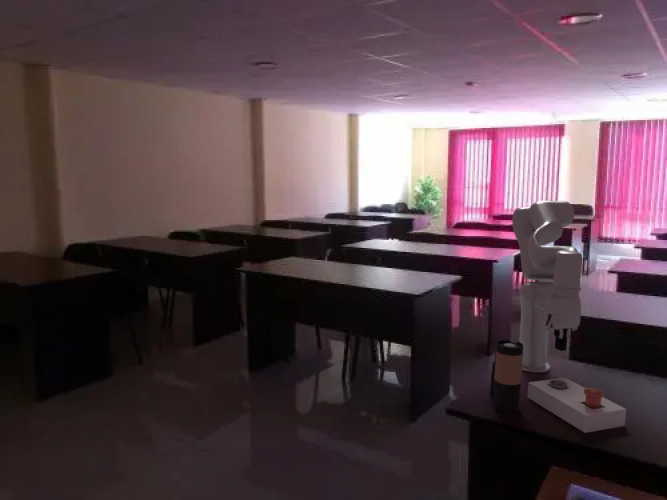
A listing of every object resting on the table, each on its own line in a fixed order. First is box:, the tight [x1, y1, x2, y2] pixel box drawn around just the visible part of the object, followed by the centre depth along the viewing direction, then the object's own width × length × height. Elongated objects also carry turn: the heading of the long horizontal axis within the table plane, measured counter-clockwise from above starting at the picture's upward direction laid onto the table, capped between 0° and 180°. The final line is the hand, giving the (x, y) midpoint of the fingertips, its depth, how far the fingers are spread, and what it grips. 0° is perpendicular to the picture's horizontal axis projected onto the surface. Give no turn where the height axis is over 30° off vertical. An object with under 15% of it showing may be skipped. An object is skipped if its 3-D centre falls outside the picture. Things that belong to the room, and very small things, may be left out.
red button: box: [584, 387, 605, 409], centre depth 154 cm, size 5×5×4 cm
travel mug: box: [493, 339, 523, 413], centre depth 162 cm, size 8×8×20 cm
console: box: [527, 377, 627, 434], centre depth 161 cm, size 24×14×5 cm, turn 19°
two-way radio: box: [489, 346, 497, 395], centre depth 173 cm, size 6×4×15 cm
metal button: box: [549, 379, 567, 390], centre depth 167 cm, size 5×5×4 cm
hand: (560, 349), depth 166 cm, fingers closed
